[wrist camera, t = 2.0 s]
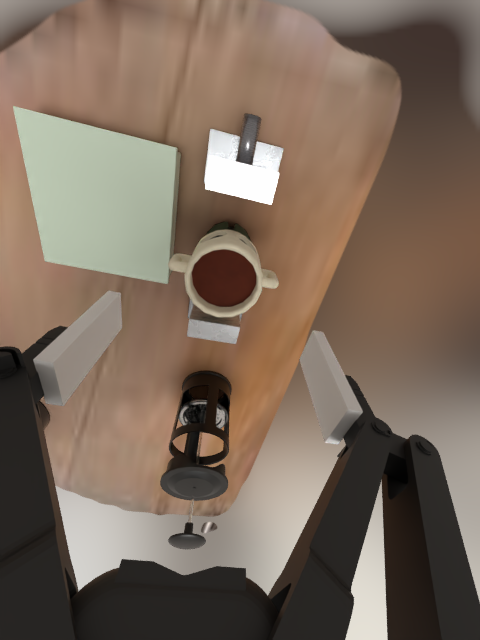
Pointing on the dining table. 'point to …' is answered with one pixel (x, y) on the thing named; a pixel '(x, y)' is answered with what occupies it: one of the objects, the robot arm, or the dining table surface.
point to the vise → (242, 181)
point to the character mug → (224, 272)
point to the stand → (101, 196)
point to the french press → (187, 468)
